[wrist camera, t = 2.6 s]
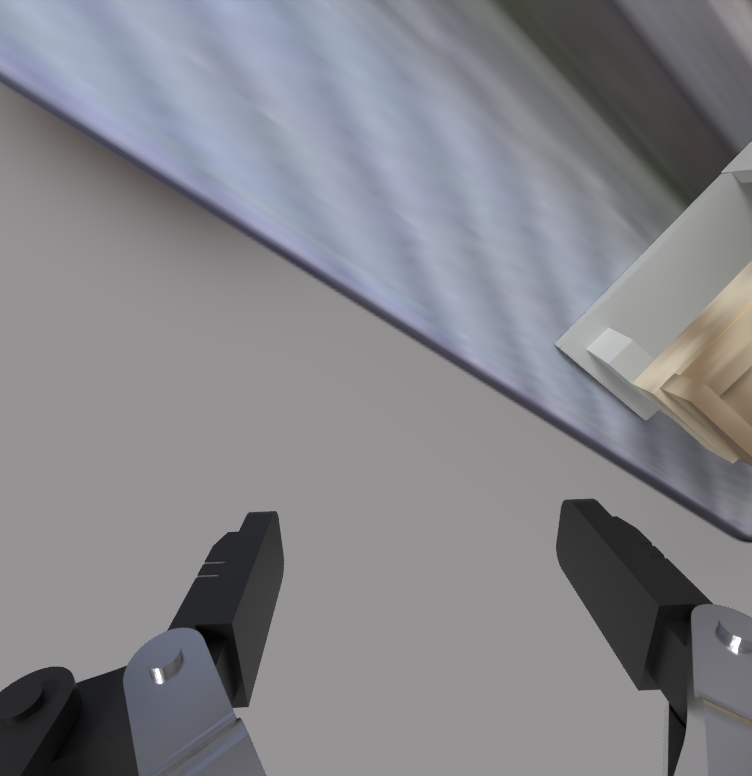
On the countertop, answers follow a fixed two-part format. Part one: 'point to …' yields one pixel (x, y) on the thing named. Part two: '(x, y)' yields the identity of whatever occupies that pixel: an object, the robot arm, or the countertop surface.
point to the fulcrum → (666, 287)
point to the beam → (711, 374)
